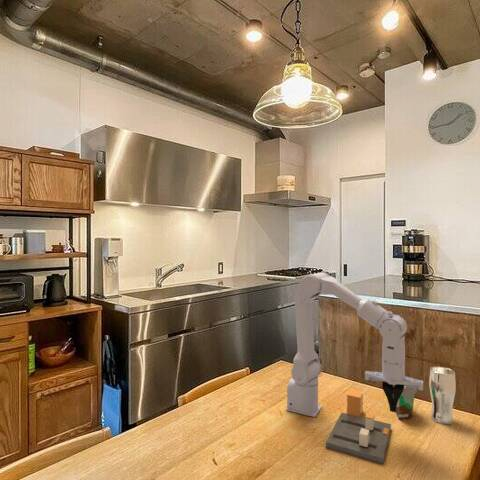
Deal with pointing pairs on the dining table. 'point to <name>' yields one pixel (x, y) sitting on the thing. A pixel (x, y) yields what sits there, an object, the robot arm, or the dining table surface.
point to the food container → (405, 403)
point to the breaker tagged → (369, 421)
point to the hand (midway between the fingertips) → (393, 410)
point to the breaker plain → (364, 437)
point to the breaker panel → (348, 438)
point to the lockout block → (355, 403)
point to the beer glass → (442, 394)
